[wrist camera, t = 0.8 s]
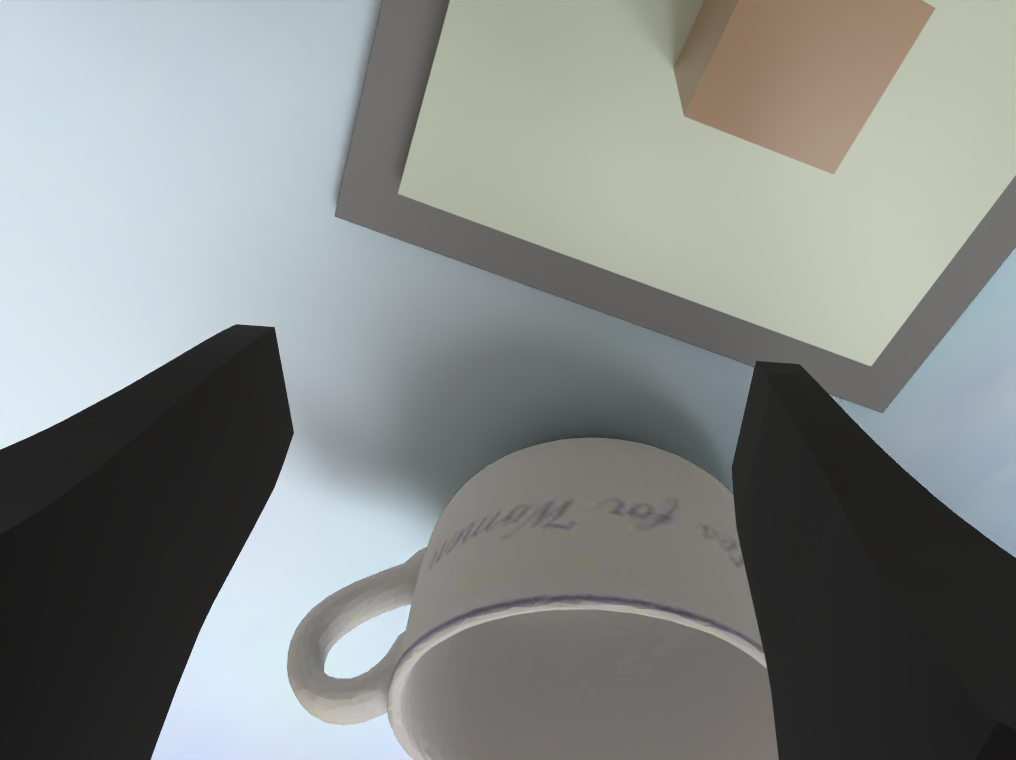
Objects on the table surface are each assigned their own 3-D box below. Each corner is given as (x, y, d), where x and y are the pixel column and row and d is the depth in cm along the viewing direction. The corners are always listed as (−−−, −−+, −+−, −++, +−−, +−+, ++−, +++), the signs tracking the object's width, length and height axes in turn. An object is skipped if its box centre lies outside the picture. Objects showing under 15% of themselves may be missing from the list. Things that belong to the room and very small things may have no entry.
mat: (1429, -291, 14) (1449, -294, 13) (878, 404, 23) (882, 413, 22) (549, -721, 12) (546, -735, 12) (339, 210, 21) (334, 216, 21)
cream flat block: (1293, -223, 14) (1505, -238, 11) (865, 353, 21) (911, 452, 18) (602, -546, 13) (596, -679, 9) (403, 184, 20) (360, 256, 17)
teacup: (812, 418, 23) (887, 649, 17) (715, 646, 30) (742, 879, 23) (344, 345, 24) (240, 542, 17) (347, 585, 30) (271, 796, 23)
